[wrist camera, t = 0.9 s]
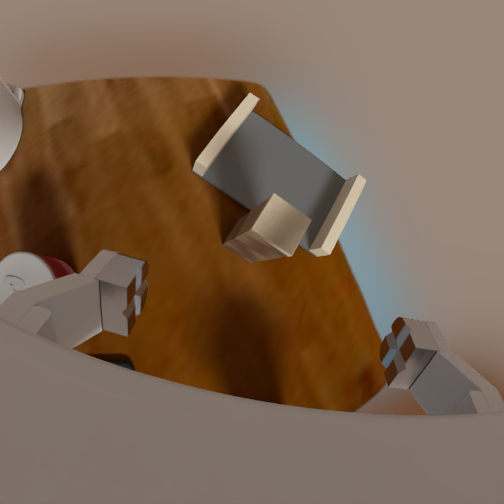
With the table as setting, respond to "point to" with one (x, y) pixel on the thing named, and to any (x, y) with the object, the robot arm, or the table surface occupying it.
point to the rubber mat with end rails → (278, 175)
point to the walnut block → (268, 231)
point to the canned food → (28, 272)
